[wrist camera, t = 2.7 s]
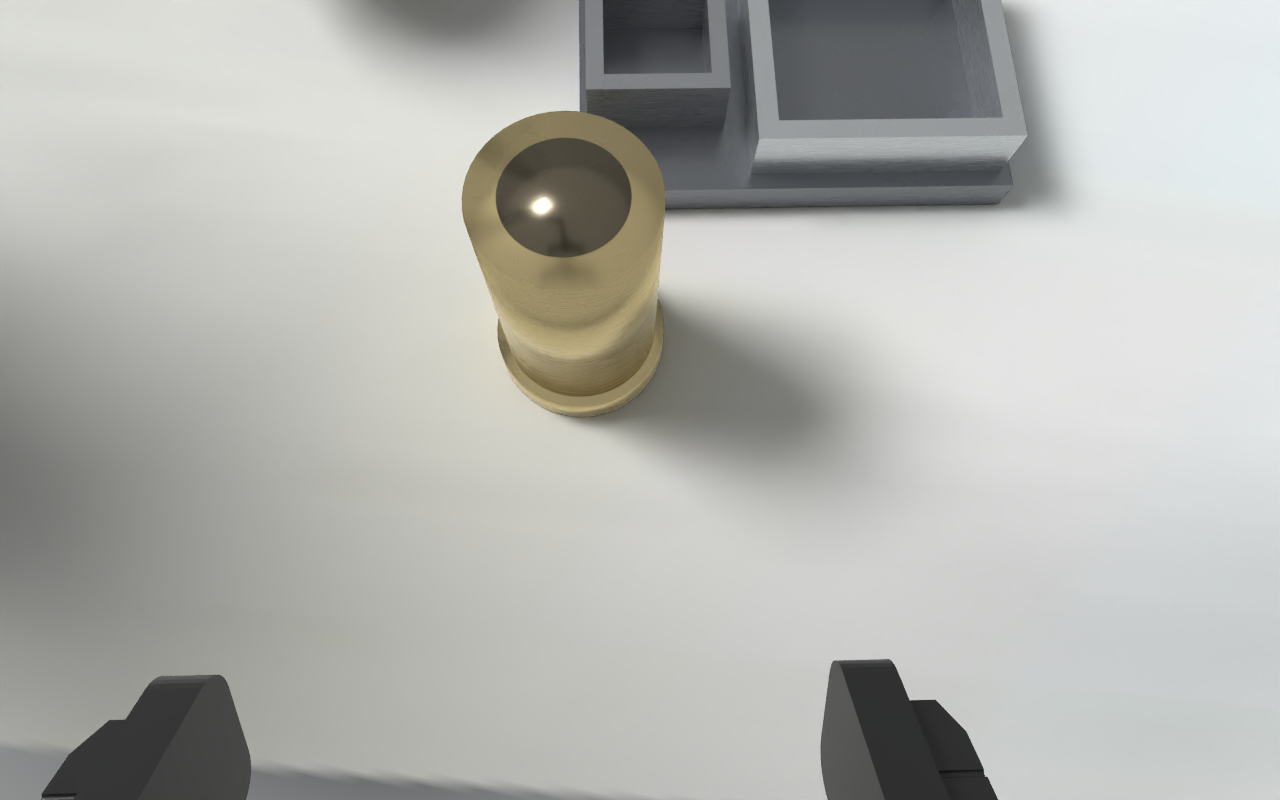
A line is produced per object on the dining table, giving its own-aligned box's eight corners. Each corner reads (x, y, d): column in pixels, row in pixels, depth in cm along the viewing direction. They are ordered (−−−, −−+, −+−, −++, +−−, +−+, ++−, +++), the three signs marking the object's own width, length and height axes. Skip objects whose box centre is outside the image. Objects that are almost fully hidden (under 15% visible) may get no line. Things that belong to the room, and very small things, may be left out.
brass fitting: (500, 418, 27) (443, 302, 19) (504, 270, 29) (453, 100, 20) (665, 415, 27) (683, 298, 19) (659, 267, 29) (674, 98, 21)
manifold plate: (581, 210, 30) (577, 157, 27) (580, -14, 33) (576, -84, 30) (998, 203, 30) (1039, 151, 27) (958, -18, 33) (991, -87, 30)
